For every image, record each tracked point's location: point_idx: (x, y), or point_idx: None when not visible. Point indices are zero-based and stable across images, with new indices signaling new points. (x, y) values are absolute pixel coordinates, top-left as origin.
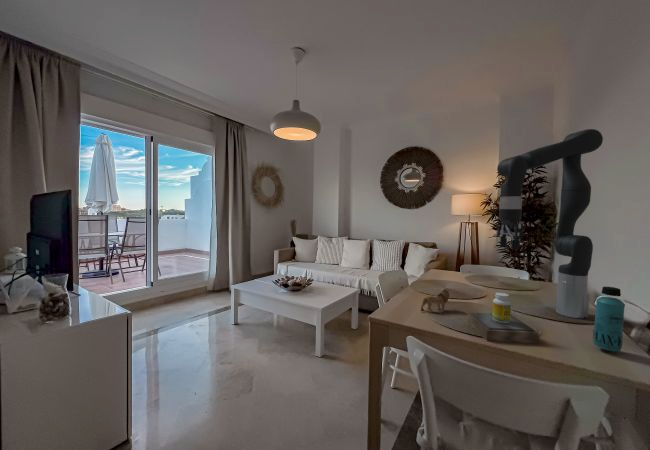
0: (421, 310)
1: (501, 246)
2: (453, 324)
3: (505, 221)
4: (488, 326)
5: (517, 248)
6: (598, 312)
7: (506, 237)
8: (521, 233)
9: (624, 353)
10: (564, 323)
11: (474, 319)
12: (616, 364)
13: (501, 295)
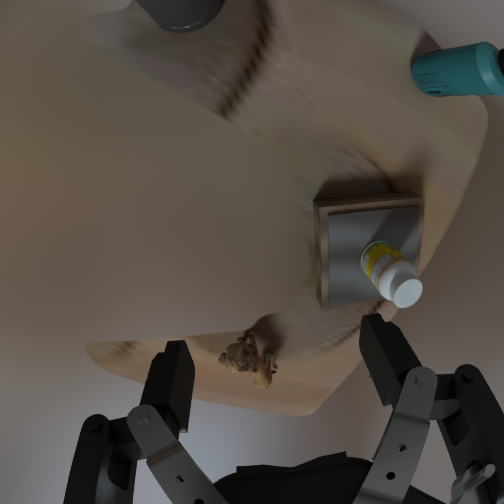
0: (275, 372)
1: (193, 369)
2: (335, 324)
3: None
4: None
5: (391, 326)
6: (478, 94)
7: (154, 408)
8: (488, 412)
9: (422, 51)
10: (275, 51)
11: (359, 303)
12: (460, 106)
13: (418, 298)
